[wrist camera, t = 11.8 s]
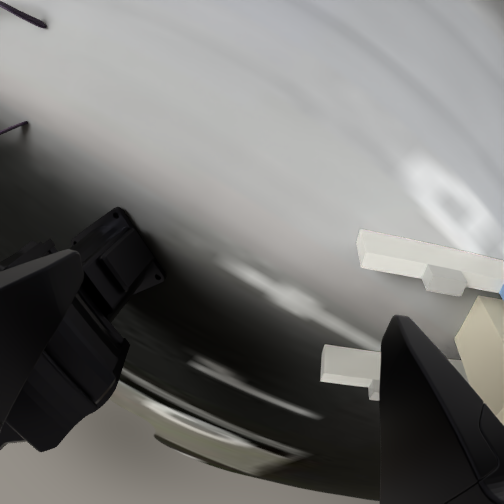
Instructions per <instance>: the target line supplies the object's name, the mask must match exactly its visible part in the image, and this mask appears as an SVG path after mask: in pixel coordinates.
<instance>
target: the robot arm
mask: <svg viewBox="0 0 504 504" xmlns="http://www.w3.org/2000/svg"><path fill="white" fill-rule="evenodd" d="M116 213H118V215H119V216H117V215H116ZM71 244H72V247H71V248H70V249H66V250H63V251H60V252H57V250H56V249H55V247H54V246H55V244H54V243H53V241H52V240H51V239H49V240H48V241H46V242H45V243H44V244H42V242H40V243H36V242H34V241H31V242H30V243H29V244H27V245H26V246H25V247H23V248H22V249H21V250H19V251H18V252H16V253H15V254H13V255H12V256H10V257H8V258H7V259H5V260H3V261H2V262H0V450H1V449H2V448H3V447H4V446H5V445H6V444H8V443H17V442H25V441H27V442H28V443H29V444H30V445H32V446H33V447H34V448H35V449H36V450H38V451H39V452H44V451H47V450H50V449H52V448H55V447H57V446H58V444H59V443H60V442H61V441H62V440H63V438H64V437H65V436H66V435H67V434H68V433H69V431H70V430H71V429H72V428H73V427H74V426H75V425H76V424H77V423H78V422H79V421H81V420H82V419H83V418H84V417H85V416H87V415H89V414H91V413H93V412H95V411H96V410H98V409H99V408H100V407H101V406H103V404H105V402H106V401H107V400H108V399H109V398H110V397H111V395H112V394H113V392H114V391H115V389H116V386H117V384H118V381H119V378H120V374H121V371H122V368H123V365H124V362H125V359H126V356H127V353H128V350H129V347H130V344H129V342H128V341H127V340H126V339H125V338H123V337H122V336H121V335H120V334H119V333H118V331H117V330H116V329H115V328H114V327H113V325H112V324H111V322H112V321H113V319H114V318H115V317H116V316H117V314H118V313H119V312H120V310H121V309H122V308H123V306H124V305H125V304H126V303H127V301H128V300H129V299H130V297H131V296H132V295H134V294H136V293H138V292H141V291H143V290H145V289H148V288H150V287H152V286H155V285H157V284H159V283H162V282H163V281H164V280H165V278H166V274H165V272H164V271H163V269H162V268H161V266H160V265H159V263H158V262H157V261H156V259H155V258H154V256H153V255H152V253H151V252H150V250H149V249H148V247H147V246H146V244H145V243H144V241H143V240H142V238H141V237H140V235H139V234H138V232H137V231H136V229H135V228H134V226H133V225H132V223H131V222H130V220H129V219H128V217H127V216H126V214H125V213H124V211H123V210H122V209H121V208H120V207H116V208H114V209H113V210H111V211H110V212H108V213H107V214H105V215H104V216H103V217H101V218H100V219H98V220H97V221H96V222H94V223H93V224H92V225H90V226H89V227H88V228H86V229H85V230H83V231H82V232H81V233H79V234H78V235H77V236H76V237H74V238H73V239H72V240H71ZM157 274H158V275H160V277H159V276H158V275H157ZM379 405H380V432H381V482H380V504H504V425H503V424H502V423H501V422H500V421H499V419H498V418H497V417H496V416H495V415H494V413H493V412H492V411H491V410H490V408H489V407H488V406H487V405H486V404H485V403H484V404H483V400H482V399H481V398H480V396H479V395H478V394H477V393H476V392H475V390H474V389H473V388H472V387H471V386H470V384H469V383H468V382H467V381H466V380H465V379H464V377H463V376H462V375H461V374H460V373H459V372H458V371H457V369H456V368H455V367H454V366H453V365H452V364H451V363H450V361H449V360H448V359H447V358H446V357H445V356H444V355H443V354H442V352H441V351H440V350H439V349H438V348H437V347H436V346H435V345H434V344H433V342H432V341H431V340H430V339H429V338H428V337H427V336H426V335H425V334H424V333H423V331H422V330H421V329H420V328H419V327H418V326H417V325H416V324H415V323H414V322H413V321H412V320H411V319H410V318H409V317H408V316H402V315H394V316H393V317H392V319H391V321H390V323H389V325H388V327H387V330H386V332H385V334H384V336H383V339H382V343H381V366H380V386H379Z"/></svg>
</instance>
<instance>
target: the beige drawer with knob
mask: <svg viewBox="0 0 504 504" xmlns="http://www.w3.org/2000/svg"><path fill="white" fill-rule="evenodd" d="M454 341H455V343H456V346H457V349H458V352H459V354H460V357H461V360H462V363H463V366H464V369H465V372H466V375H467V378H468V381H469V384H470V386H471V387H472V388H473V389H474V390H475V392H476V393H477V394H478V395H479V396H480V398H481V399H482V400H483V404H484V403H485V404H486V405H487V406H488V407H489V408H490V410H491V411H492V412H493V413H494V415H495V416H496V417H497V418H498V419H499V421H500V422H501V423H502V424H503V425H504V300H503V299H497V298H491V297H486V296H480V295H478V296H477V298H476V300H475V302H474V304H473V306H472V308H471V310H470V312H469V314H468V315H467V317H466V319H465V321H464V323H463V325H462V326H461V328H460V330H459V332H458V333H457V335H456V337H455V338H454Z"/></svg>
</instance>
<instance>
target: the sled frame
mask: <svg viewBox="0 0 504 504" xmlns="http://www.w3.org/2000/svg"><path fill="white" fill-rule="evenodd" d="M356 244H357V249H358V255H359V260H360V265H361V268H365V269H371V270H376V271H382V272H387V273H393V274H398V275H404V276H409V277H414V278H420V279H422V281H423V283H424V286H425V288H426V291H430V292H436V293H442V294H448V295H454V296H459V297H461V295H462V293H463V291H464V289H465V287H468V288H474V289H479V290H485V291H490V292H495V293H499V294H500V296H501V297H502V299H503V300H504V261H503V260H499V259H495V258H491V257H487V256H483V255H479V254H475V253H470V252H466V251H462V250H458V249H453V248H449V247H444V246H440V245H436V244H431V243H427V242H422V241H417V240H413V239H408V238H403V237H399V236H394V235H389V234H384V233H379V232H374V231H369V230H364V229H360V230H359V234H358V238H357V242H356ZM448 360H449V361H450V363H451V364H452V365H453V366H454V367H455V368H456V369H457V371H458V372H459V373H460V374H461V375H462V376H463V377H464V379H465V380H466V381H467V382H468V383H469V381H468V378H467V375H466V372H465V369H464V366H463V363H462V360H453V359H448ZM380 366H381V352H376V351H368V350H361V349H354V348H347V347H340V346H333V345H327V344H325V345H324V348H323V351H322V360H321V379H320V381H322V382H329V383H337V384H344V385H353V386H361V387H368V389H369V400H378V401H379V386H380Z"/></svg>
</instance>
